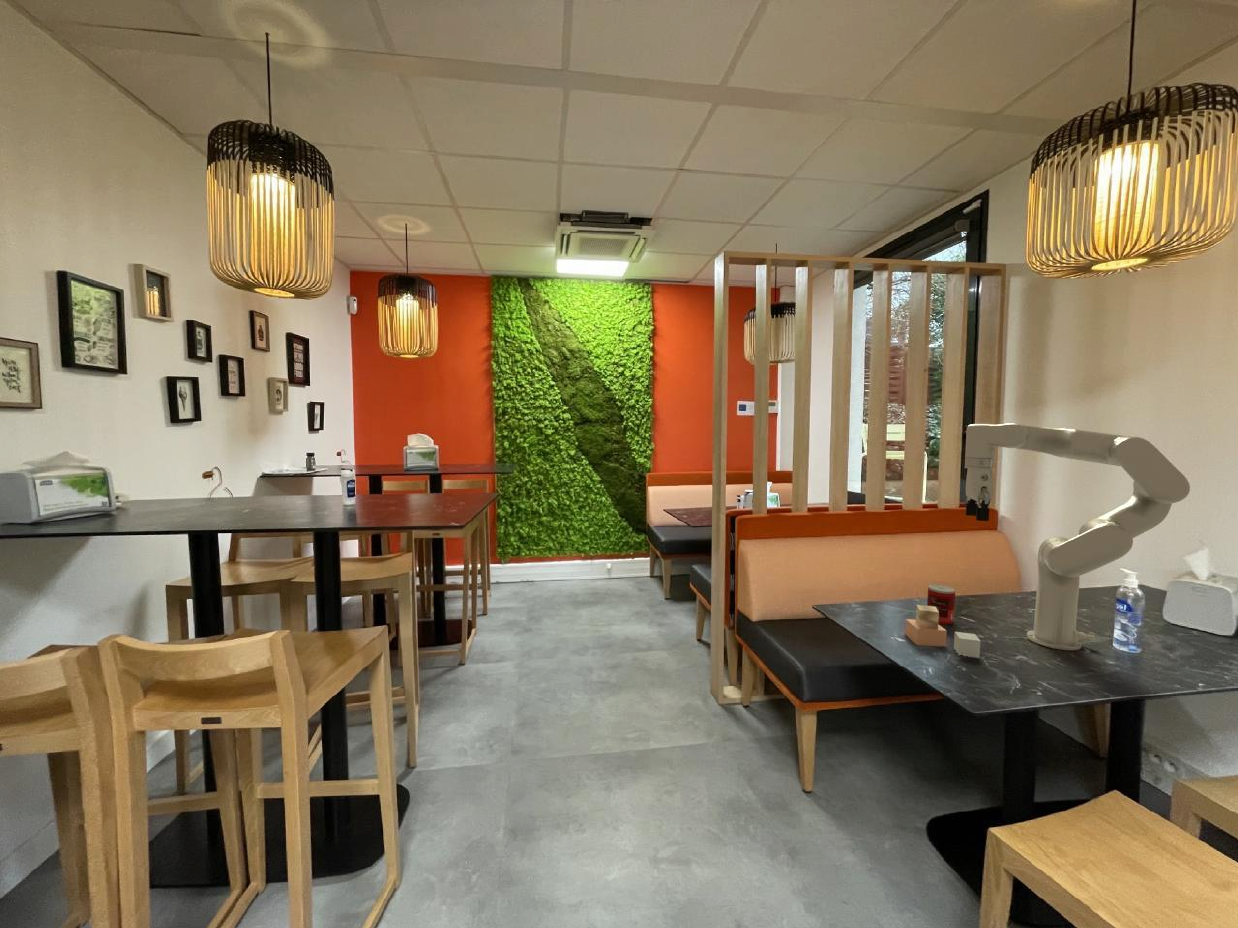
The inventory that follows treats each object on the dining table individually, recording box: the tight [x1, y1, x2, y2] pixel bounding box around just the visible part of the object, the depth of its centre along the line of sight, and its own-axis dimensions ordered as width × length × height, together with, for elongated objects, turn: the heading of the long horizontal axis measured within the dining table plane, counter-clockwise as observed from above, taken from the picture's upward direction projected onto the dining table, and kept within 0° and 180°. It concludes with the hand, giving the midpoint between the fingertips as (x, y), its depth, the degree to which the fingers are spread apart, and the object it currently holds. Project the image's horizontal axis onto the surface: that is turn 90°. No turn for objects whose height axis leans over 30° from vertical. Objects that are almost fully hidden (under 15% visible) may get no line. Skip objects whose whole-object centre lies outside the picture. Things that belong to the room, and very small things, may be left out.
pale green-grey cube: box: [953, 631, 981, 659], centre depth 149 cm, size 5×5×5 cm
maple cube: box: [915, 604, 939, 629], centre depth 158 cm, size 5×5×5 cm
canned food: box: [926, 583, 956, 625], centre depth 174 cm, size 8×8×11 cm
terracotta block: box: [904, 618, 948, 648], centre depth 158 cm, size 8×8×5 cm
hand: (976, 518), depth 165 cm, fingers open, 9 cm apart
